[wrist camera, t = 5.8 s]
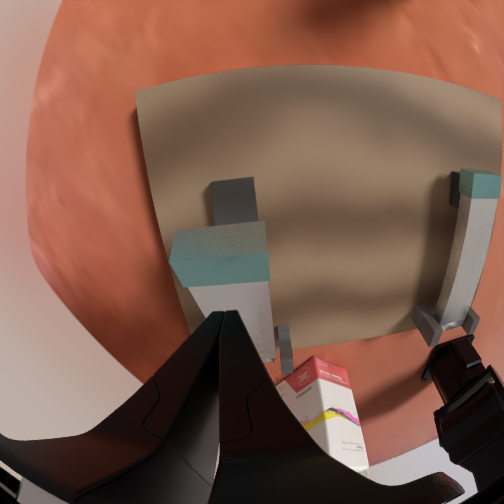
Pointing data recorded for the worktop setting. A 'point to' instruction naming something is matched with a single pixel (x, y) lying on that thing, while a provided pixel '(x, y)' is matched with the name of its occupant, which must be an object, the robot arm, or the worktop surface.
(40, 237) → the worktop surface
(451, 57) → the worktop surface
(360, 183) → the jig board
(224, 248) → the bar
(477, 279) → the bar
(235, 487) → the robot arm
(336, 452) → the ink cartridge box
